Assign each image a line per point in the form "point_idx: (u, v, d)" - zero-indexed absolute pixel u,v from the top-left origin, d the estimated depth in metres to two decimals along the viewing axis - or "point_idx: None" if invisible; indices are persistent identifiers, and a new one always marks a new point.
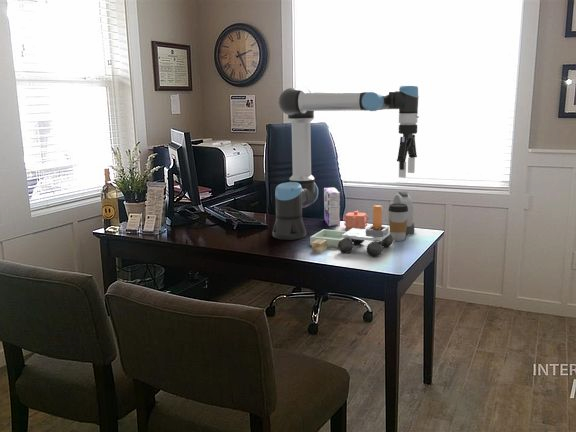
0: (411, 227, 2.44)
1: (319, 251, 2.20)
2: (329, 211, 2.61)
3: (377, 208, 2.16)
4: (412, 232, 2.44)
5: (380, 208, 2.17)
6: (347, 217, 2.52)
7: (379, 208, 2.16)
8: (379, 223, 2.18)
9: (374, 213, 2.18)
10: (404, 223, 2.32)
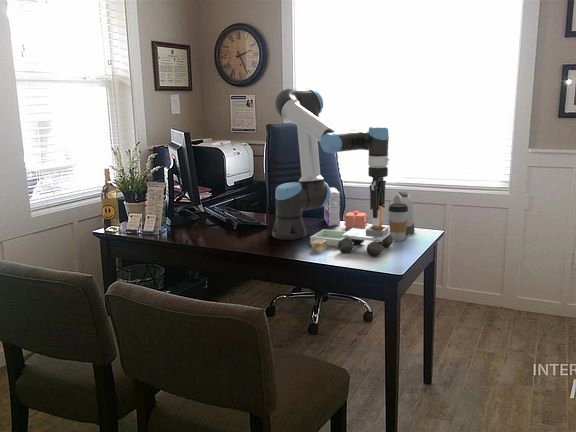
0: (411, 227, 2.44)
1: (319, 251, 2.20)
2: (329, 211, 2.61)
3: None
4: (412, 232, 2.44)
5: (380, 208, 2.17)
6: (347, 217, 2.52)
7: (379, 208, 2.16)
8: (379, 223, 2.18)
9: None
10: (404, 223, 2.32)
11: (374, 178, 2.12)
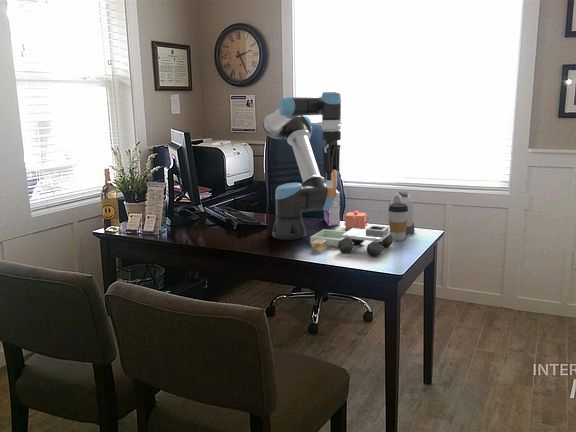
0: (411, 227, 2.44)
1: (319, 251, 2.20)
2: (329, 211, 2.61)
3: None
4: (412, 232, 2.44)
5: (334, 172, 2.26)
6: (347, 217, 2.52)
7: (333, 171, 2.26)
8: (333, 186, 2.27)
9: None
10: (404, 223, 2.32)
11: (327, 141, 2.21)
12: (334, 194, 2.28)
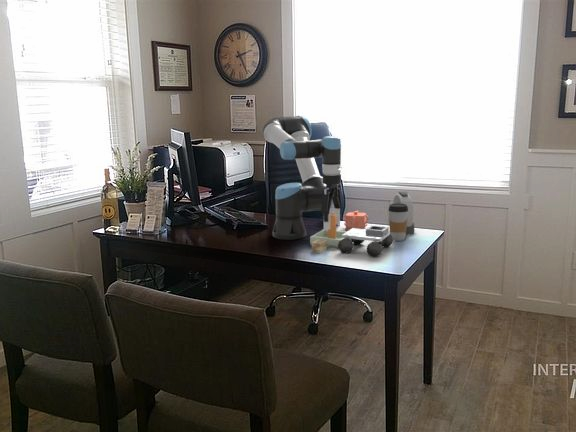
0: (411, 227, 2.44)
1: (319, 251, 2.20)
2: None
3: (331, 217, 2.29)
4: (412, 232, 2.44)
5: (334, 217, 2.30)
6: (347, 217, 2.52)
7: (333, 217, 2.29)
8: (333, 231, 2.31)
9: None
10: (404, 223, 2.32)
11: None
12: (334, 238, 2.32)
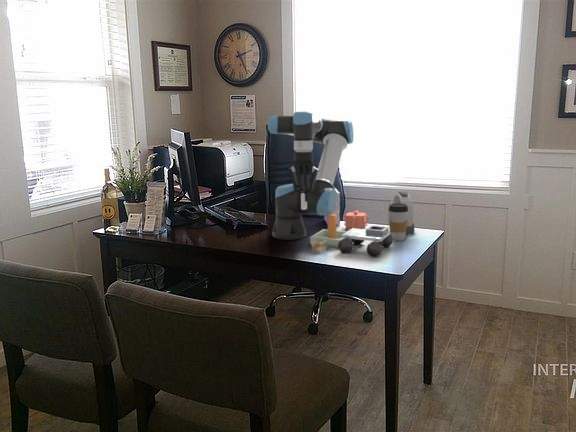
0: (411, 227, 2.44)
1: (319, 251, 2.20)
2: None
3: (331, 217, 2.30)
4: (412, 232, 2.44)
5: (334, 217, 2.30)
6: (347, 217, 2.52)
7: (333, 217, 2.30)
8: (333, 231, 2.31)
9: (328, 221, 2.31)
10: (404, 223, 2.32)
11: None
12: (334, 238, 2.32)
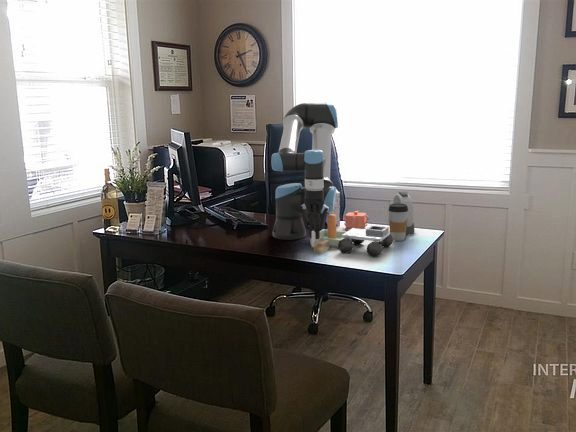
0: (411, 227, 2.44)
1: (321, 251, 2.19)
2: None
3: (331, 217, 2.30)
4: (412, 232, 2.44)
5: (334, 217, 2.30)
6: (347, 217, 2.52)
7: (333, 217, 2.30)
8: (333, 231, 2.31)
9: (328, 221, 2.31)
10: (404, 223, 2.32)
11: None
12: (334, 238, 2.32)
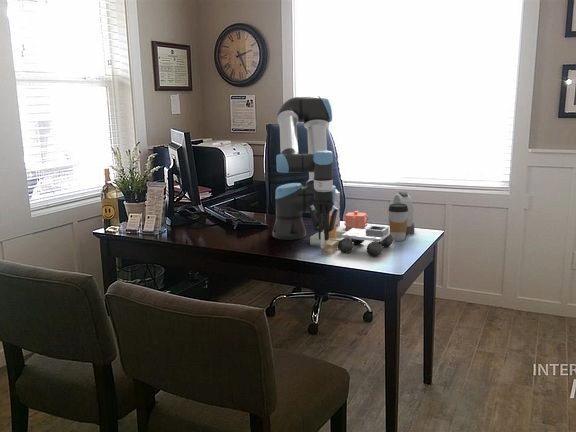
0: (411, 227, 2.44)
1: (330, 252, 2.17)
2: None
3: None
4: (412, 232, 2.44)
5: None
6: (347, 217, 2.52)
7: None
8: (333, 231, 2.31)
9: None
10: (404, 223, 2.32)
11: None
12: (334, 238, 2.32)
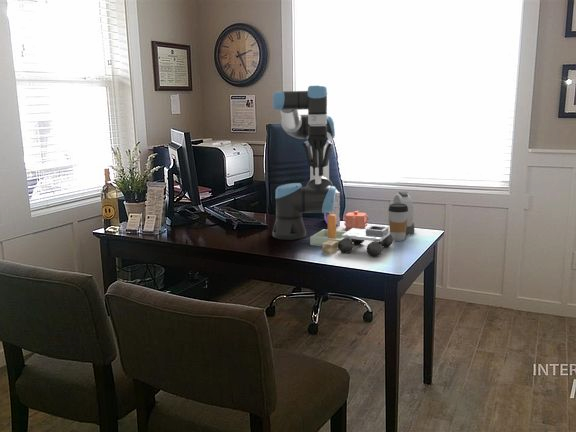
0: (411, 227, 2.44)
1: (330, 252, 2.17)
2: None
3: (331, 217, 2.30)
4: (412, 232, 2.44)
5: (334, 217, 2.30)
6: (347, 217, 2.52)
7: (333, 217, 2.30)
8: (333, 231, 2.31)
9: (328, 221, 2.31)
10: (404, 223, 2.32)
11: None
12: (334, 238, 2.32)
